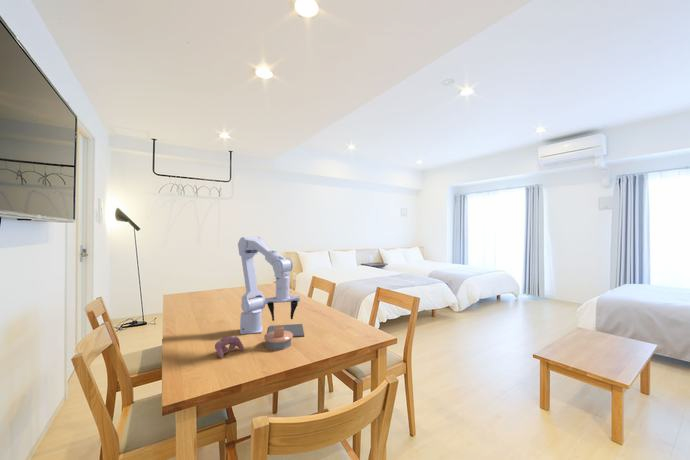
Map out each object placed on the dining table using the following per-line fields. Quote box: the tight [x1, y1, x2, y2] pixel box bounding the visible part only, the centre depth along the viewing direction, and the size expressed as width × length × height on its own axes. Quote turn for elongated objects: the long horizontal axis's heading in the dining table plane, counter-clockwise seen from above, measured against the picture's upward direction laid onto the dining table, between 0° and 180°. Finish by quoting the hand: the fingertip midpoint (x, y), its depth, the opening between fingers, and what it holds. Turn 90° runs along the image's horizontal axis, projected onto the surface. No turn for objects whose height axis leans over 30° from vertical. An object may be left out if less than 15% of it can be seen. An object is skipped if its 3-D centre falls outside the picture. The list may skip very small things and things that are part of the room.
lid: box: [263, 324, 294, 343], centre depth 120 cm, size 12×12×4 cm
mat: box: [267, 323, 305, 338], centre depth 134 cm, size 16×15×1 cm
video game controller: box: [214, 335, 244, 359], centre depth 112 cm, size 10×5×7 cm, turn 141°
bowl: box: [265, 339, 292, 351], centre depth 120 cm, size 10×10×3 cm
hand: (282, 319), depth 121 cm, fingers open, 7 cm apart
